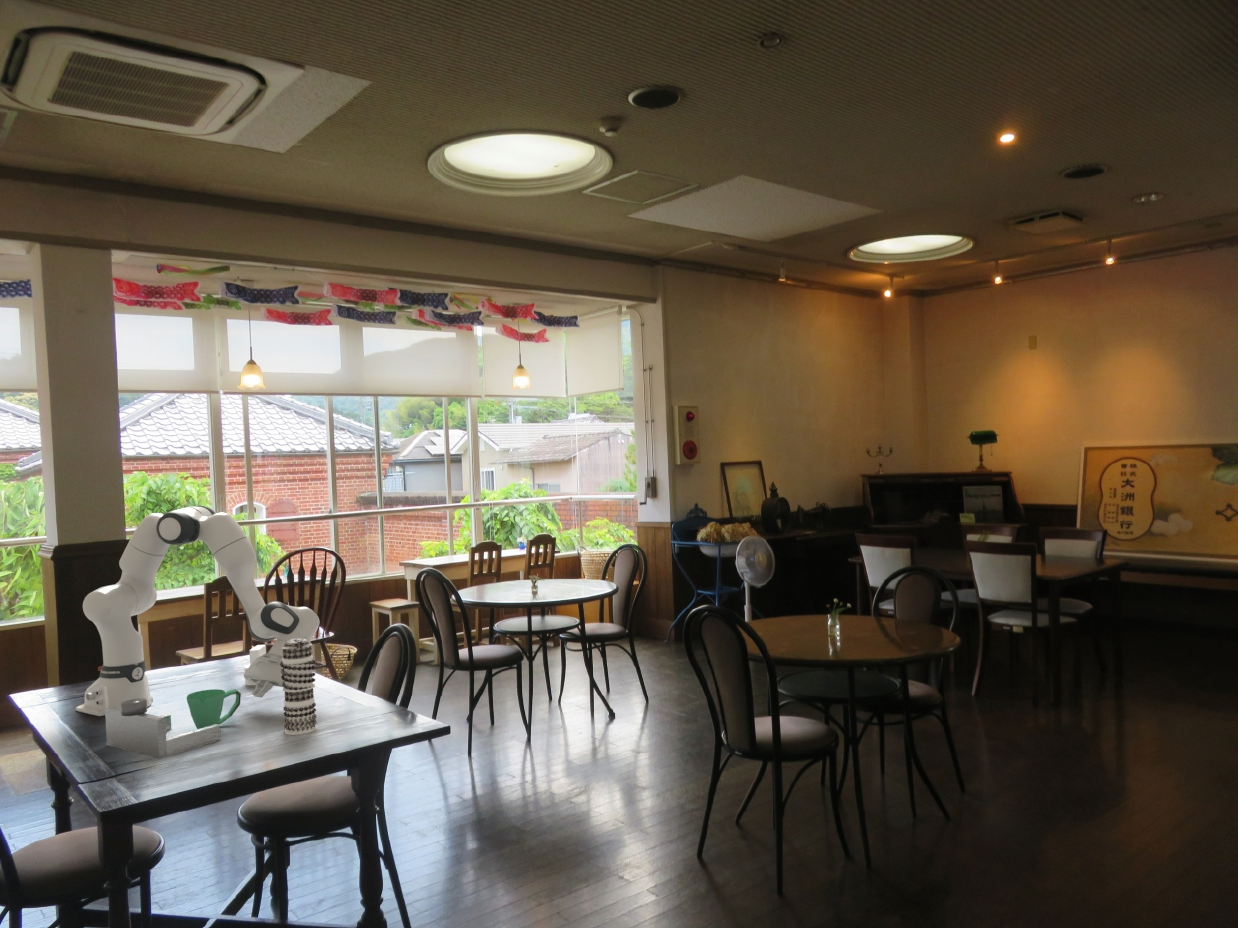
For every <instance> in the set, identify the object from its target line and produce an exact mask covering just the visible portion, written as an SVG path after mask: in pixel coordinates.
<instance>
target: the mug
mask: <svg viewBox="0 0 1238 928" xmlns="http://www.w3.org/2000/svg"><path fill="white" fill-rule="evenodd" d="M231 695H235V701H234V703H233V705H232V706H231V707H230V710H229V711H228V712H227V713H226V714H225V715H223V716H222V712H223V706H224V702H225V698H228V697H229V696H231ZM241 697H242V692H240V691H239V690H238V689H237V688H235V689H230V690H227V691H225V690H223V689H218V688H216V689H204V690H203V689H202V690H199V691H195V692H192V693H191V692H190V693H189V694H187V696H186V702H187V705H188V708H189V713H190V716H191V718H192V720H193V723H194V726H195V727H196V730H197V729H200V728H204V727H207V726H210V725H214V724H217V725H221V724H222V723H224V722H226V721H227V720H228V719H230V718H231V717H232V716H233V715H234V713H235V712H236V710H237V709H238V708H239V707H240V705H241ZM221 716H222V717H221Z"/></svg>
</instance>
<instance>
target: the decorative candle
mask: <svg viewBox="0 0 1238 928" xmlns="http://www.w3.org/2000/svg"><path fill="white" fill-rule="evenodd" d="M312 645H313V643H312V642H311V641H310V642H309V641H308V640H307V639H303V638H299V639H291V640H288V641H286V643H285V644H284V646H282V647H281V648H283V658H282V661H281V663H280V665H281V667H283V668H282V669H281V673H282V676H281V678H282V680H284V681H283V683H282V686H283V687H282V691H283V692H284V700H283V701H284V703H283V704H284V706H283V708H282V709H283V711H284V712H283V716H284V719H283V722H284V725H283V729H284V734H286V735H290V736H292V735H293V736H299V735H305V734H309V733H312V732H314V731H316V730H317V723H318V722H317V714H315V712H317V709H316V708H315V707H316V706H317V704H316V702H315V696H314V688H315V687H316V685H315V683H314V682H315V681H316V678H314V676H316V672H315V673H314V672H313V670H314V669H316V666H315V665H314V664H315V663H316V660H315V659H314V658H313V657H314V656H313V654H312ZM283 664H284V665H283Z"/></svg>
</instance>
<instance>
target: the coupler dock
mask: <svg viewBox="0 0 1238 928" xmlns="http://www.w3.org/2000/svg"><path fill="white" fill-rule="evenodd" d="M147 712H148V707H147V699H144V698H139V699H131V700H127V701H124V702H122V703H121V708H117V707H109V708H105V715H104V716H105V732H106V735H105V736H106V746H107V745H108V746H107V747H112V748H115V749H120V750H123V751H127V752H131V753H136V754H139V755H143V756H146V757H151V758H155V759H158V760H160V759H163V758H166V757H170V756H173V755H176V754H180V753H182V752H186V751H188V750H192V749H195V748H198V746H199V747H202V746H205V745H208V744H211V742H212V743H214V741H215V742H217V740H218V741H220V740H221V727H220V725H221V724H219V725H217V724H214V725H210V726H207V727H204V728H200V729H197V728H196V729H193V730H191V731H188V732H183V733H180V734H177V735H174V736H171V737H167V731H169V730H172V716H171V715H172V714H168V713H165V714H162V715H154V714H150V713H147ZM207 743H208V744H207ZM201 745H202V746H201Z"/></svg>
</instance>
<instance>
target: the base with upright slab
mask: <svg viewBox="0 0 1238 928" xmlns="http://www.w3.org/2000/svg"><path fill="white" fill-rule="evenodd" d="M263 654H267V645H266V644H257V645H255V646H254V647H252V648H251V649H249V663H248V664H246V665H244V668H243V670H244V672H245V671H246V670H247V669H248V667H249V666H250V665H251V664H252V662H253V661H254V660H255V659H256V658H258V657H260V656H262V655H263ZM245 684H246V685H245ZM244 685H245V686H247V685H256V683H252V682H249V681H248V680H247V679H245V678H244Z"/></svg>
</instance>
